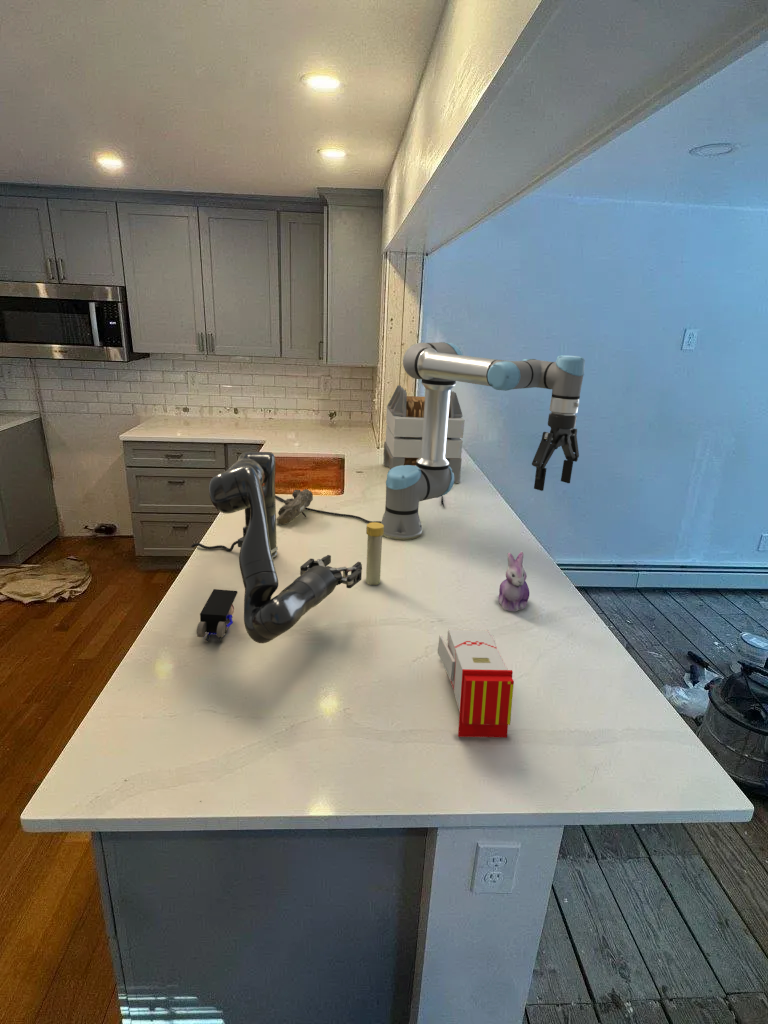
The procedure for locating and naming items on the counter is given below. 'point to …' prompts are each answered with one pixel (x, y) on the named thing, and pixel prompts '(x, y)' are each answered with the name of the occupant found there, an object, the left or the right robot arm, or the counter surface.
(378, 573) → the jar
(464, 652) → the toy
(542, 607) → the counter surface
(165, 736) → the counter surface
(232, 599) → the black wheeled vehicle
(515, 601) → the figurine
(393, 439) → the white storage crate
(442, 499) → the feather
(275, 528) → the left robot arm
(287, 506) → the fossil
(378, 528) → the lid
